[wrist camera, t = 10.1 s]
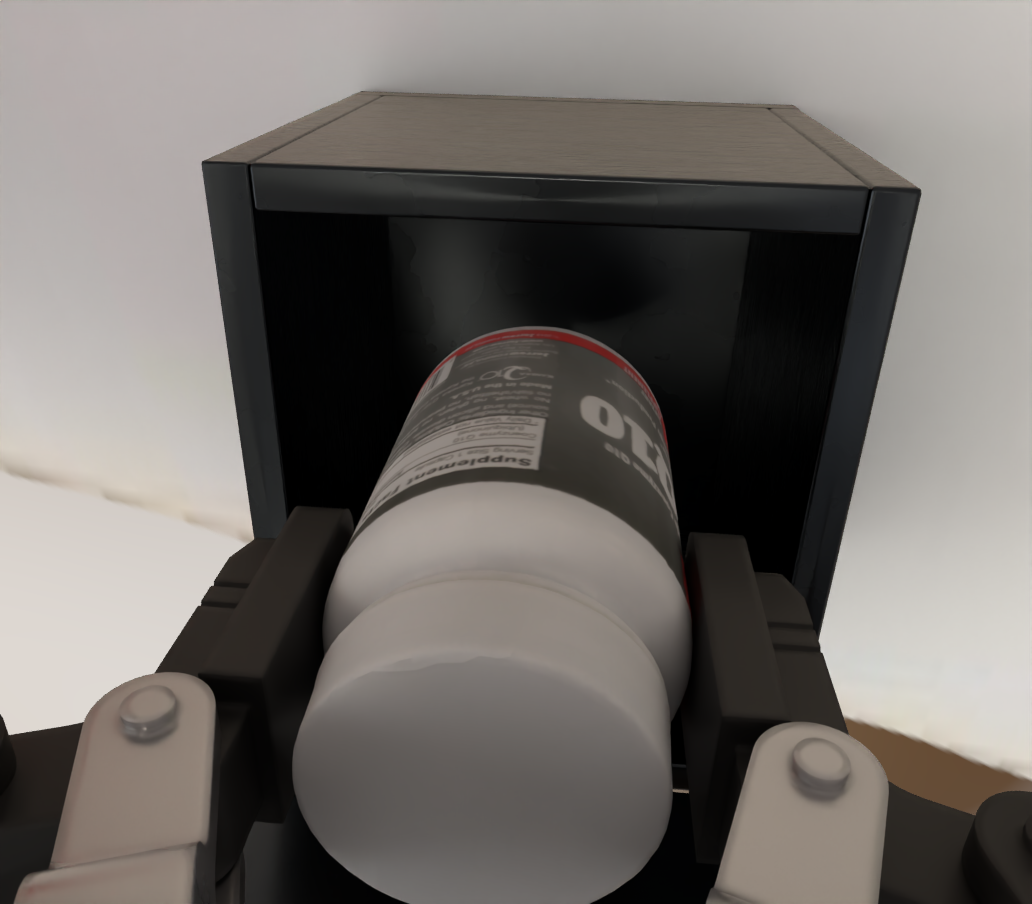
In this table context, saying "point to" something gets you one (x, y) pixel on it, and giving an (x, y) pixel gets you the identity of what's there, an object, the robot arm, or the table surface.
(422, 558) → the pill bottle
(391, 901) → the drawer with gold handle
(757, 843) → the robot arm
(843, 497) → the black hollow box
